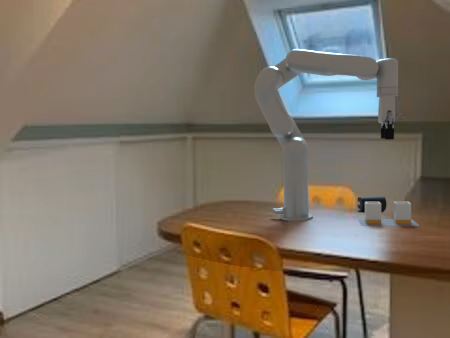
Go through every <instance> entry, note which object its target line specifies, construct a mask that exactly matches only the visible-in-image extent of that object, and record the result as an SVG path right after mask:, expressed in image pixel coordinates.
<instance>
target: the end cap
mask: <svg viewBox="0 0 450 338" xmlns="http://www.w3.org/2000/svg"><path fill="white" fill-rule="evenodd" d="M386 199H387V198H386V197H385V195H382V196H381V195H375V196H374V195H373V196H358V197H357V202H358V203H359V204H357V205H356V206H357V209H358V210H357V212H358V213H365V202H380V203H381V213H384V212H385V211H386V210H387V200H386Z"/></svg>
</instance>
